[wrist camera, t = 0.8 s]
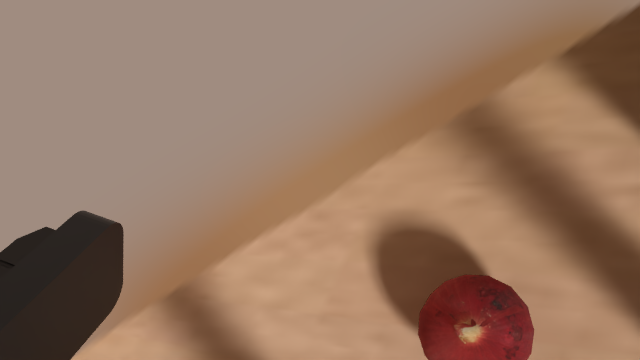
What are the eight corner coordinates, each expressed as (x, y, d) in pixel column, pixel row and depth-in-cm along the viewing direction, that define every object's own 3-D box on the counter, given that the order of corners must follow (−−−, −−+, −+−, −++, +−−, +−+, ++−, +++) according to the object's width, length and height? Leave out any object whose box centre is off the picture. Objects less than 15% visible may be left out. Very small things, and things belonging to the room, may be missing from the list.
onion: (483, 260, 36) (479, 241, 28) (552, 340, 34) (567, 342, 26) (407, 320, 36) (384, 318, 29) (471, 403, 34) (463, 423, 27)
